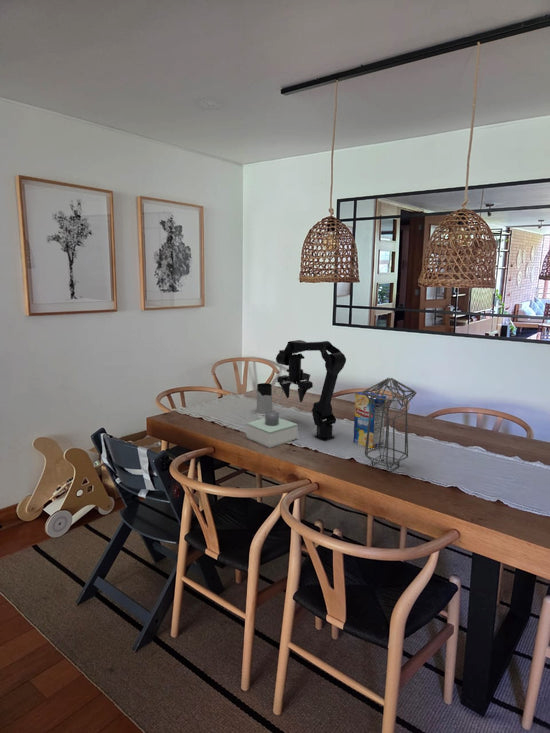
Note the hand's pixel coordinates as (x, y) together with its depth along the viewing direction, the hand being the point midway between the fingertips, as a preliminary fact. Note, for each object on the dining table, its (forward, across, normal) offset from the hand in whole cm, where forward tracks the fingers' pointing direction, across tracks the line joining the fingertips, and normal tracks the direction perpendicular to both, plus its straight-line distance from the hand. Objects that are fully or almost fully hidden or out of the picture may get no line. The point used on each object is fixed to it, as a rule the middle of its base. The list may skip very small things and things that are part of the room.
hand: (294, 399), depth 227 cm
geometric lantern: (+13, -57, +6) cm, 59 cm away
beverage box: (+13, -38, -8) cm, 41 cm away
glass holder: (+13, +24, -5) cm, 28 cm away
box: (+13, -6, +19) cm, 24 cm away
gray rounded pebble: (+6, -6, +19) cm, 21 cm away
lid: (+7, -6, +19) cm, 21 cm away
